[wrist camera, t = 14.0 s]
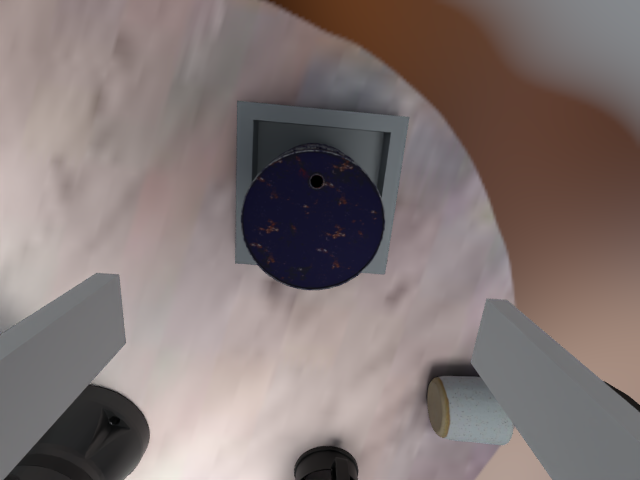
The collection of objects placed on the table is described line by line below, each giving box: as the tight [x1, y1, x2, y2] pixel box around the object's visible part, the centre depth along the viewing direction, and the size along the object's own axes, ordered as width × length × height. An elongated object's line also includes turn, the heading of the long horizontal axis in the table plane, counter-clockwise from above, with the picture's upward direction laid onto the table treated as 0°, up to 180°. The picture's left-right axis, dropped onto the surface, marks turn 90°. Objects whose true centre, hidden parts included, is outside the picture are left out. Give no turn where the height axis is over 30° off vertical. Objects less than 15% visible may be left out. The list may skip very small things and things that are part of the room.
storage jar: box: [241, 143, 385, 290], centre depth 30 cm, size 10×10×15 cm
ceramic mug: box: [427, 376, 514, 445], centre depth 43 cm, size 11×8×8 cm
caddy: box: [235, 101, 409, 274], centre depth 36 cm, size 16×16×4 cm
